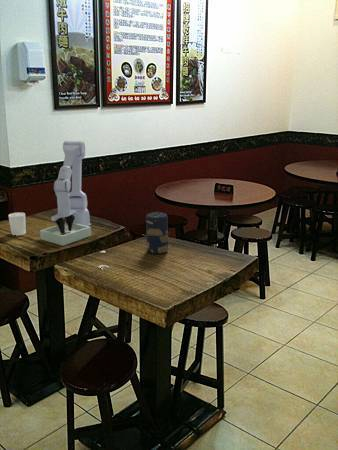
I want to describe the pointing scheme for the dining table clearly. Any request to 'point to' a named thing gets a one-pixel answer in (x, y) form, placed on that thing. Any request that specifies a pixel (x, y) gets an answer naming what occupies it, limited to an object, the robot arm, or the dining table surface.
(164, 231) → the canister
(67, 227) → the peg
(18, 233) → the white cup
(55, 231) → the caddy
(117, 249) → the dining table surface
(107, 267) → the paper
